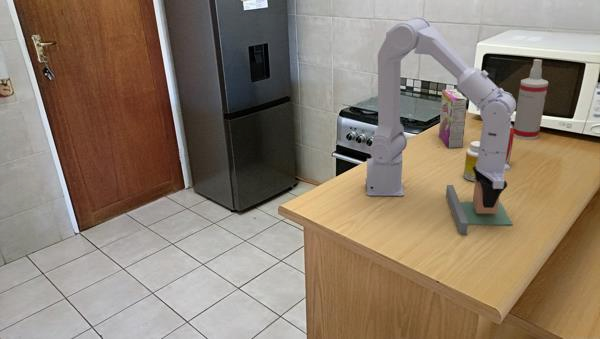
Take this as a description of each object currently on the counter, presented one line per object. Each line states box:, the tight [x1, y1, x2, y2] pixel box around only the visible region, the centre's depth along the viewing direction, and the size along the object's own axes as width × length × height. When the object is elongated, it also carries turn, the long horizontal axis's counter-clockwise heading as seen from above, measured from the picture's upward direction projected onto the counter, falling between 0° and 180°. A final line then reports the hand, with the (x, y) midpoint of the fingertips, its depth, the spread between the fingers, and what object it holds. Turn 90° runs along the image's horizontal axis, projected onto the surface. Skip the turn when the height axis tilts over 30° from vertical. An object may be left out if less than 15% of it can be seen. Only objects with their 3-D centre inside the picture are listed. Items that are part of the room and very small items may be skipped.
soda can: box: [505, 124, 514, 165], centre depth 125 cm, size 7×7×12 cm
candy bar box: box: [438, 88, 468, 149], centre depth 141 cm, size 11×5×16 cm, turn 179°
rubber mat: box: [460, 201, 513, 227], centre depth 104 cm, size 10×10×1 cm
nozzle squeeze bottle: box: [512, 58, 549, 141], centre depth 140 cm, size 8×8×25 cm
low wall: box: [445, 184, 469, 236], centre depth 105 cm, size 2×18×3 cm, turn 173°
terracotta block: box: [471, 181, 501, 214], centre depth 102 cm, size 4×4×6 cm
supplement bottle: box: [463, 140, 480, 182], centre depth 119 cm, size 6×6×10 cm
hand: (485, 201), depth 103 cm, fingers closed on terracotta block, 4 cm apart
